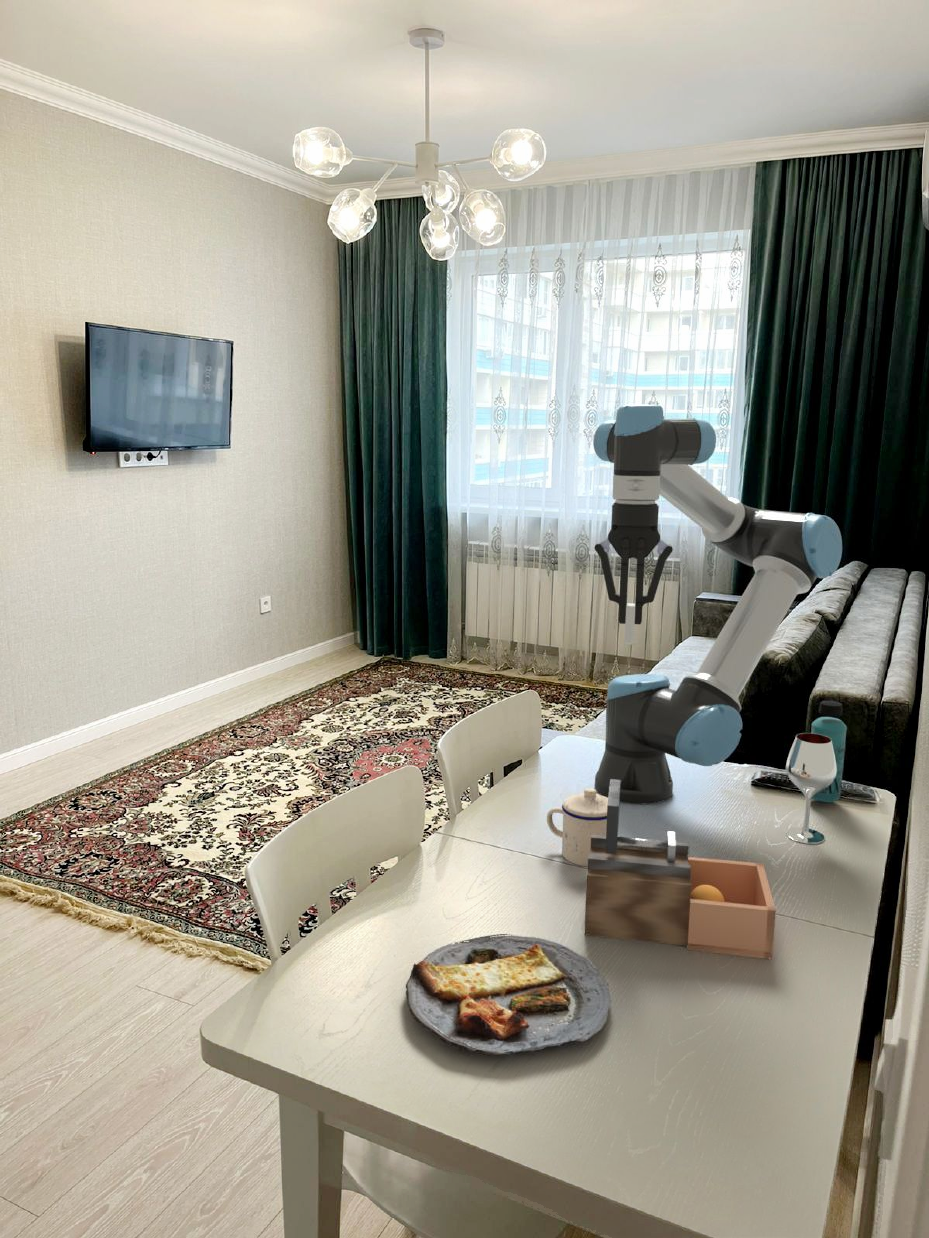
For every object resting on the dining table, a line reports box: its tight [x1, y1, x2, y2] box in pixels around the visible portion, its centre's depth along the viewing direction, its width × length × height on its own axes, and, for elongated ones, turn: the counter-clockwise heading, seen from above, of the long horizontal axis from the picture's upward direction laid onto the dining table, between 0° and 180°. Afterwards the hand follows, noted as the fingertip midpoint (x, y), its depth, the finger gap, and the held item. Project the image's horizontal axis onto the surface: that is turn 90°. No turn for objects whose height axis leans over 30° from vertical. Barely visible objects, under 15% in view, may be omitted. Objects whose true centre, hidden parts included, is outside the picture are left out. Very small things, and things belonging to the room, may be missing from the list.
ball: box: [690, 885, 725, 902], centre depth 130 cm, size 5×5×5 cm
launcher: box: [584, 835, 691, 947], centre depth 131 cm, size 14×12×10 cm
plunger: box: [605, 779, 676, 863], centre depth 130 cm, size 10×10×9 cm
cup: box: [686, 856, 777, 960], centre depth 129 cm, size 11×14×7 cm
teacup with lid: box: [546, 787, 608, 867], centre depth 152 cm, size 12×9×12 cm
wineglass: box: [785, 732, 837, 845], centre depth 158 cm, size 8×8×18 cm
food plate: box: [405, 933, 612, 1056], centre depth 113 cm, size 25×23×4 cm
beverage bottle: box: [810, 700, 848, 803], centre depth 173 cm, size 6×7×20 cm
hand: (629, 642), depth 154 cm, fingers closed
